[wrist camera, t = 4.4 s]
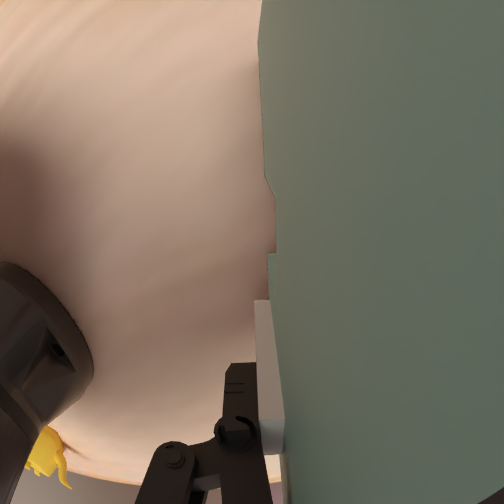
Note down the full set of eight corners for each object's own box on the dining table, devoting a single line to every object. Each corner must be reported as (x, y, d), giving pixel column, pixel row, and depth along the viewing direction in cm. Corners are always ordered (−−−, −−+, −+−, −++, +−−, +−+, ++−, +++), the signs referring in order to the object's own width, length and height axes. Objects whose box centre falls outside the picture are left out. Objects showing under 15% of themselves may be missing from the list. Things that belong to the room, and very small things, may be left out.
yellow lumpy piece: (29, 404, 26) (5, 446, 17) (88, 454, 31) (73, 495, 22) (2, 402, 28) (-18, 434, 19) (51, 447, 33) (37, 479, 24)
